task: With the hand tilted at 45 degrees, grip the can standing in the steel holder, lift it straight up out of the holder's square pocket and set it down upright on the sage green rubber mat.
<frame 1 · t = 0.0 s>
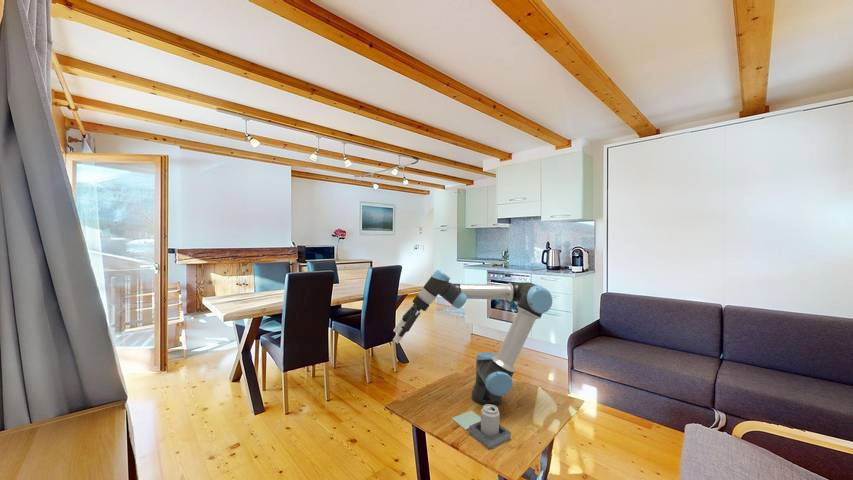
hand: (395, 336, 144), 36 cm above the table, tool tilted 35°, fingers open, 13 cm apart
can: (489, 436, 131), resting in holder
holder: (489, 436, 131), on the table
mat: (468, 420, 142), on the table
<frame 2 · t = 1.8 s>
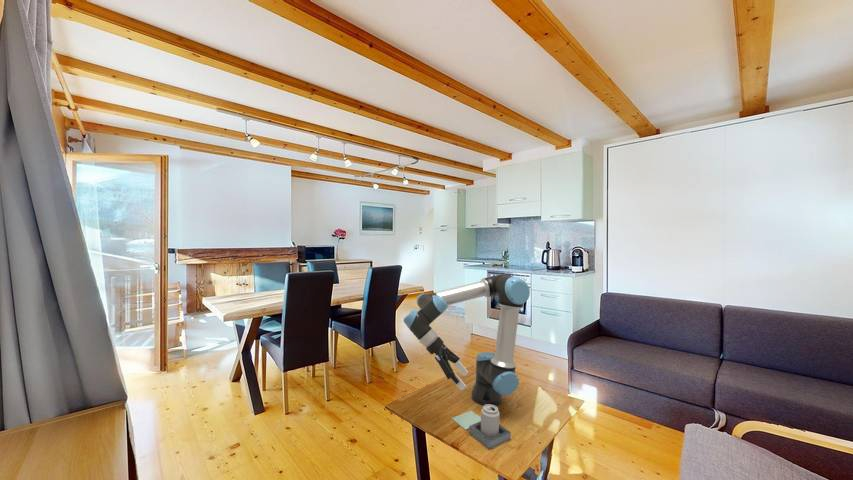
hand: (465, 381, 133), 22 cm above the table, tool tilted 45°, fingers open, 13 cm apart
nothing on the table moved.
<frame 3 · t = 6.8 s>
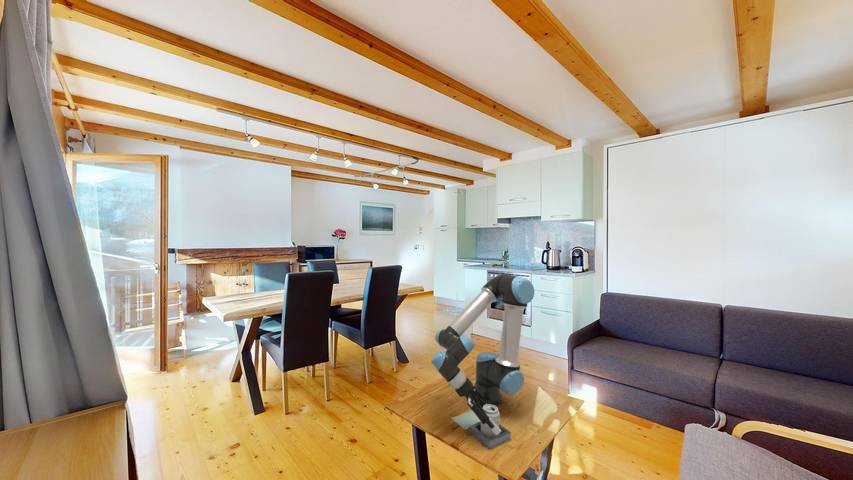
hand: (498, 427, 131), 4 cm above the table, tool tilted 45°, fingers closed on can, 7 cm apart
can: (489, 436, 131), resting in holder, touching gripper
when the fingers open (6 cm above the table, at t = 12.9 s): can drops 1 cm, resting on mat.
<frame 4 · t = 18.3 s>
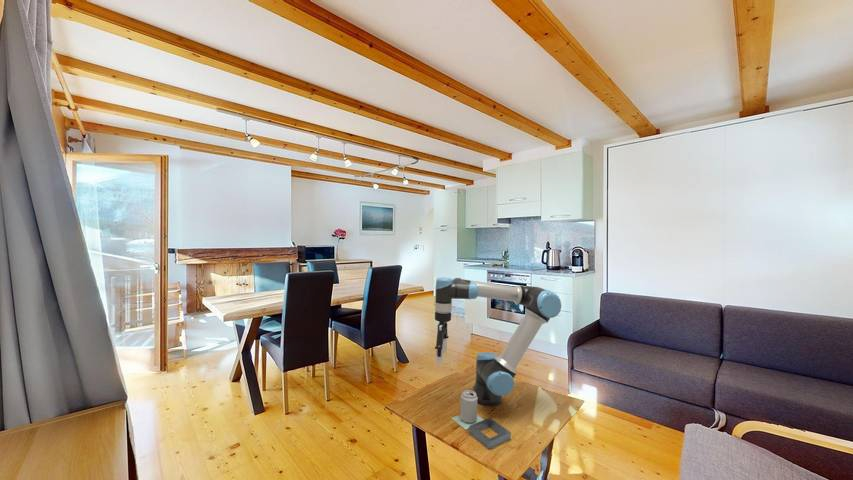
hand: (441, 357, 145), 27 cm above the table, tool pointing down, fingers open, 13 cm apart
can: (468, 419, 142), resting on mat
at the end: can 0.1 cm from the mat (horizontally); can tilted 0°; the gripper is holding nothing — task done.
